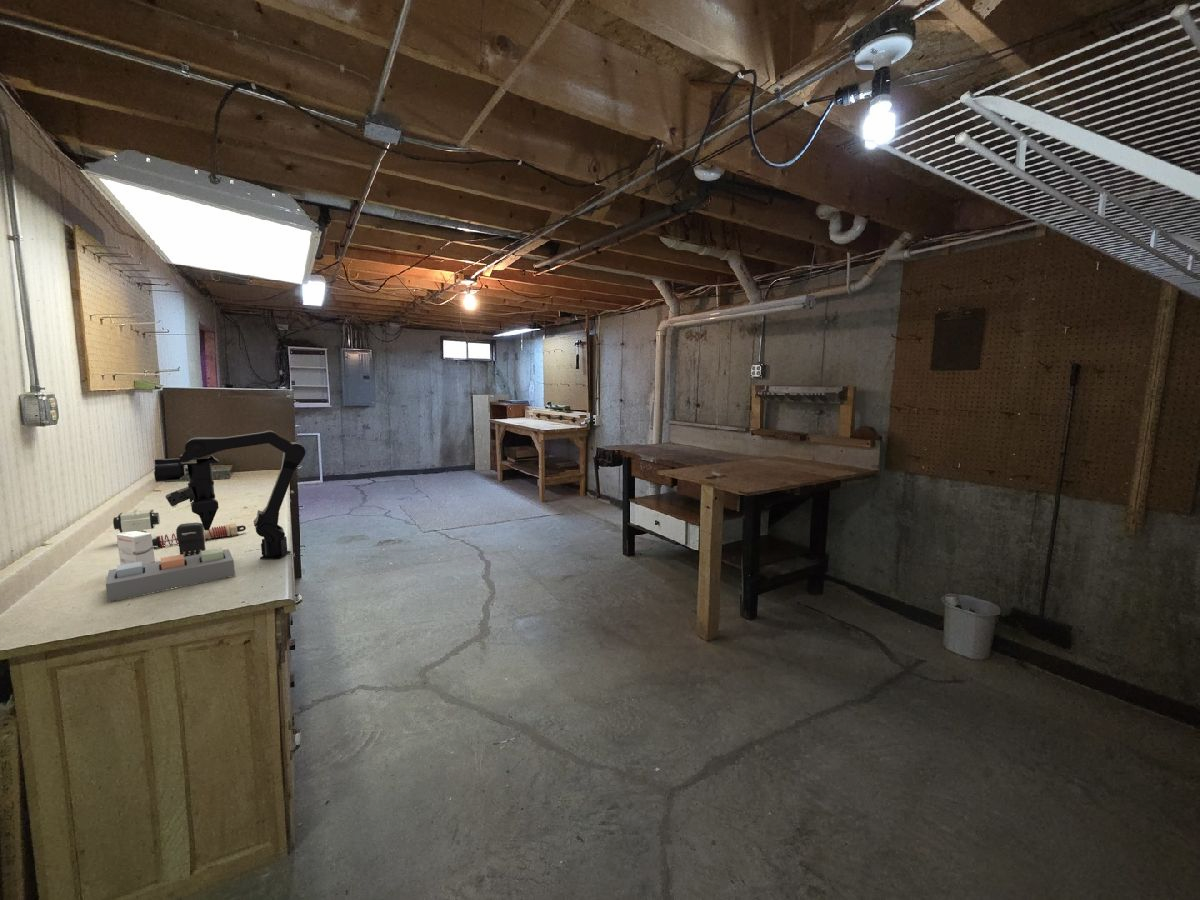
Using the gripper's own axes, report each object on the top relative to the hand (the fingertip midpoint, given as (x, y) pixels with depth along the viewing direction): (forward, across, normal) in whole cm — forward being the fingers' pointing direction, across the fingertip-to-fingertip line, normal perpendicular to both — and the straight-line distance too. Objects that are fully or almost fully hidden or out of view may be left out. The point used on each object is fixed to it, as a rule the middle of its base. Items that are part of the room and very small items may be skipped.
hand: (206, 527), depth 151 cm
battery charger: (+13, -16, -4) cm, 21 cm away
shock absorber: (+13, -35, -2) cm, 38 cm away
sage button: (+10, +7, +1) cm, 12 cm away
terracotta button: (+10, +8, -8) cm, 15 cm away
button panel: (+13, +8, -8) cm, 17 cm away
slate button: (+10, +8, -17) cm, 21 cm away
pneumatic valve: (+13, -48, -18) cm, 53 cm away
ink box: (+13, -11, -17) cm, 24 cm away
